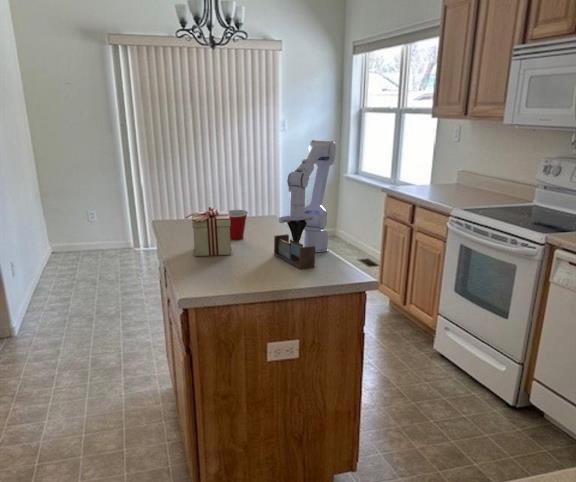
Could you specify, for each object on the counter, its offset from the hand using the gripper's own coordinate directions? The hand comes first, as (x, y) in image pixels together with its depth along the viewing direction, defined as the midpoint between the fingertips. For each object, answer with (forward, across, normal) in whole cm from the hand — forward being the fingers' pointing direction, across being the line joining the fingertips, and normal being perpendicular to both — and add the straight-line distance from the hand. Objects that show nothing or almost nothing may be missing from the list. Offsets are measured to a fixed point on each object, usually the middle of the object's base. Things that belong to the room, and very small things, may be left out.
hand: (296, 240), depth 206 cm
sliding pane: (+7, 0, 0) cm, 7 cm away
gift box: (+8, -26, +25) cm, 37 cm away
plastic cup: (+8, -7, +42) cm, 44 cm away
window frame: (+8, -2, -1) cm, 8 cm away
